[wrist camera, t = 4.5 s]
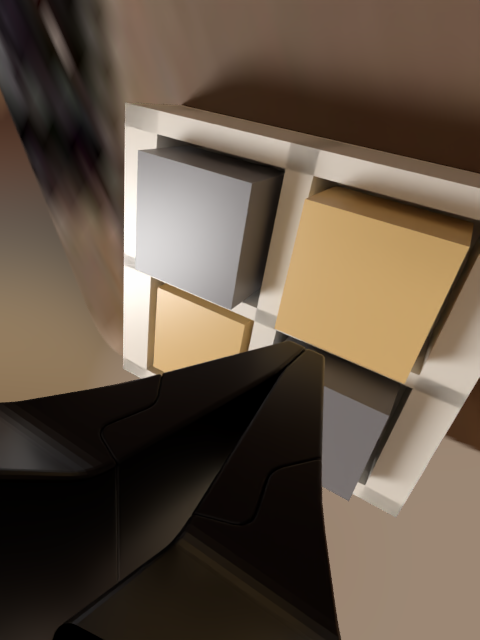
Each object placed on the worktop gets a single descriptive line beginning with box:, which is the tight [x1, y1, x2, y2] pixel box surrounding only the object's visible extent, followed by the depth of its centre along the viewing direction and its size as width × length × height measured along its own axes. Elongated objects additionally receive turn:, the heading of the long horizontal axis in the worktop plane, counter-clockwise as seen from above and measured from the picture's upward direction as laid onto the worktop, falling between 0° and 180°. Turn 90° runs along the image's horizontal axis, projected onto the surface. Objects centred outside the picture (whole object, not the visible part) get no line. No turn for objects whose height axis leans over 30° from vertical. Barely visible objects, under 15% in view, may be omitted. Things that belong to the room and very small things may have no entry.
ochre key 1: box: [153, 283, 254, 372], centre depth 20 cm, size 5×5×3 cm
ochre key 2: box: [274, 186, 474, 384], centre depth 14 cm, size 5×5×3 cm
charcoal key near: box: [135, 146, 285, 310], centre depth 16 cm, size 5×5×3 cm
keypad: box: [123, 103, 480, 517], centre depth 18 cm, size 15×13×4 cm
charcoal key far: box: [284, 336, 401, 501], centre depth 17 cm, size 5×5×3 cm
